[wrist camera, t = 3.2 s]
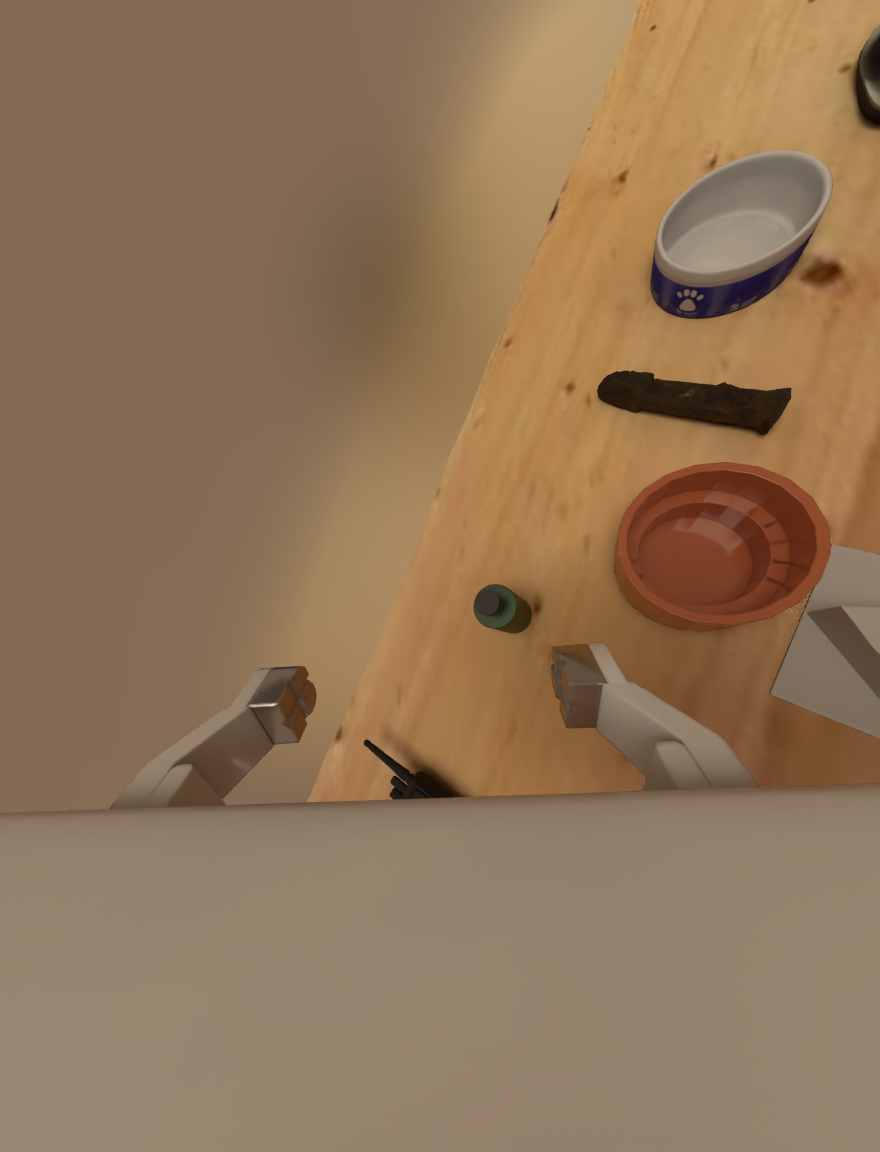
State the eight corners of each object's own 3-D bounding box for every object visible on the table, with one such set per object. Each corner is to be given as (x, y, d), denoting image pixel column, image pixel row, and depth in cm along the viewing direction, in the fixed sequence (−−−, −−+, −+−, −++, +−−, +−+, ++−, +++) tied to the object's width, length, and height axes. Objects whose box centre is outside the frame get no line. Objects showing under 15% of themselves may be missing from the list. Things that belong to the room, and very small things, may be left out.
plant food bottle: (532, 597, 43) (512, 579, 33) (530, 635, 43) (508, 628, 32) (496, 596, 45) (466, 578, 35) (493, 631, 45) (462, 624, 34)
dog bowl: (831, 210, 38) (869, 138, 33) (757, 328, 39) (782, 276, 34) (687, 214, 46) (699, 155, 40) (626, 313, 46) (630, 268, 41)
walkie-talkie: (474, 896, 37) (346, 778, 45) (499, 840, 41) (377, 740, 49) (483, 889, 33) (341, 760, 41) (510, 827, 37) (376, 720, 45)
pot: (771, 498, 35) (821, 452, 27) (781, 637, 33) (840, 632, 25) (615, 507, 41) (619, 472, 34) (612, 624, 39) (616, 617, 31)
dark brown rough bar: (782, 408, 36) (805, 376, 32) (764, 440, 36) (785, 413, 32) (608, 381, 45) (609, 353, 41) (593, 407, 45) (593, 382, 41)
